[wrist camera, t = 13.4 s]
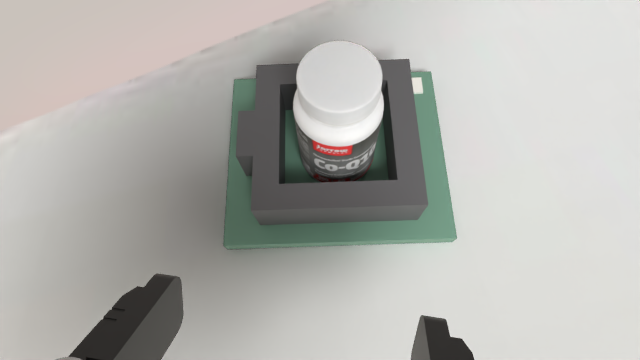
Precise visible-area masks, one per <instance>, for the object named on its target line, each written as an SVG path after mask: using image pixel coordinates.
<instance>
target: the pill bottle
mask: <svg viewBox="0 0 640 360" xmlns="http://www.w3.org/2000/svg"><path fill="white" fill-rule="evenodd" d="M296 82H297V90H296V92H295V95H294V100H293V113H294V119H295V125H296V131H297V137H298V144H299V150H300V156H301V160H302V163H303V166H304V168H305V169H306V171H307V172H308V174H309V175H310V176H311V177H312V178H314V179H315V180H317V181H318V182H349V181H358V180H359V179H360V178H362V177H363V176H364V175H365V174H366V172H367V171H368V170H369V168H370V166H371V164H372V161H373V157H374V152H375V148H376V143H377V138H378V134H379V131H380V127H381V123H382V119H383V111H384V100H383V95H382V92H381V86H382V69H381V66H380V64H379V61H378V60H377V58H376V57H375V56H374V55H373V54H372V53H371V52H370V51H369V50H368V49H366V48H365V47H363V46H361V45H359V44H356V43H353V42H349V41H330V42H326V43H323V44H320V45H318V46H316V47H314V48H313V49H311V50H310V51H309V52H308V53H307V54H306V55H305V56H304V57H303V58H302V60H301V62H300V64H299V66H298V69H297V74H296Z"/></svg>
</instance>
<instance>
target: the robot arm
mask: <svg viewBox="0 0 640 360" xmlns="http://www.w3.org/2000/svg"><path fill="white" fill-rule="evenodd" d="M182 319H183V300H182V286H181V279H180V277H177V276H170V275H164V274H155V275H154V276H153V277H152V278H151V280H150V281H149V282H148V283H147V284H146V286H145V287H138V286H137V287H136V288H134V289H133V290H131V291H129V292H128V293H126V294H125V295H123V296H122V297H121V298H120V299H119V300H118V301H117V303H116V304H115V305H114V306H113V307H112V310H109V312H108V313H107V314H106V315H105V316H104V318H103V320H101V321H100V322H99V323H98V324H97V325H96V326H95V327H94V328H93V330H92V331H91V332H90V333H89V334H88V335H87V336H86V337H85V339H84V340H83V341H82V342H81V343H80V344H79V345H78V346H77V348H76V349H75V350H74V351H73V352H72V353H71V354H70V355H69V356H68V357H65V358H60V359H56V360H161V359H162V357H163V355H164V354H165V352H166V351H167V349H168V347H169V346H170V344H171V342H172V341H173V339H174V337H175V336H176V334H177V333H178V331H179V329H180V326H181V323H182ZM411 360H474V357H473V354H472V352H471V351H470V349H469V348H468V347H467V345H466V344H465V343H464V341H463V340H462V339H460V338H454V337H450V334H449V330H448V325H447V322H446V320H445V319H442V318H436V317H430V316H423V315H421V317H420V320H419V324H418V328H417V332H416V336H415V340H414V344H413V349H412V354H411Z"/></svg>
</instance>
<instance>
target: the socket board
mask: <svg viewBox="0 0 640 360" xmlns="http://www.w3.org/2000/svg"><path fill="white" fill-rule="evenodd" d="M378 61H379V64H380V66H381V69H382V86H381V92H382V95H383V100H384V111H383V119H382V123H381V127H380V131H379V134H378V138H377V143H376V148H375V152H374V157H373V161H372V164H371V166H370V168H369V170H368V171H367V172H366V174H365V175H364V176H363V177H362V178H360V179H359V180H358V181H349V182H318V181H317V180H315V179H314V178H312V177H311V176H310V175H309V174H308V172H307V171H306V169H305V168H304V166H303V163H302V160H301V156H300V150H299V144H298V137H297V131H296V125H295V119H294V113H293V100H294V95H295V92H296V90H297V82H296V74H297V69H298V66H299V64H277V65H257V70H256V79H235V80H234V90H233V105H232V121H231V136H230V151H229V167H228V182H227V197H226V213H225V228H224V243H223V246H224V247H225V248H227V249H248V248H279V247H311V246H342V245H373V244H404V243H436V242H453V241H454V240H455V239H457V236H456V229H455V223H454V216H453V210H452V204H451V197H450V191H449V184H448V178H447V172H446V165H445V159H444V152H443V146H442V139H441V133H440V127H439V120H438V114H437V107H436V101H435V94H434V88H433V82H432V75H431V72H411V70H410V62H409V59H398V60H378Z"/></svg>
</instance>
